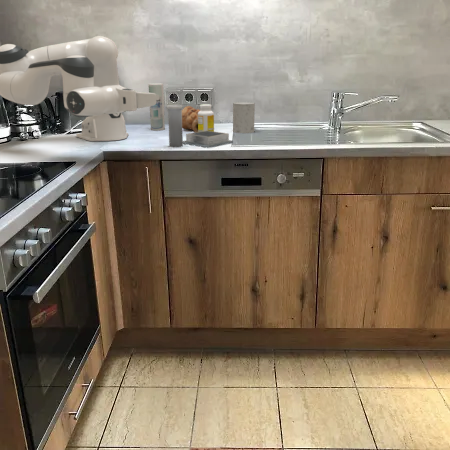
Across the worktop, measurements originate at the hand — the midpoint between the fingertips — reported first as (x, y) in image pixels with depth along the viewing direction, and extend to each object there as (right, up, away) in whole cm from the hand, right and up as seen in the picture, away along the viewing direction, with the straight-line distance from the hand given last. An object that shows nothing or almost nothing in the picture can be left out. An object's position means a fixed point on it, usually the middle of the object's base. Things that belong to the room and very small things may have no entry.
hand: (148, 96), depth 172 cm
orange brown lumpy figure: (+13, -3, +49) cm, 51 cm away
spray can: (-4, -1, +54) cm, 54 cm away
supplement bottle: (+19, -7, +36) cm, 42 cm away
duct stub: (+8, -15, +15) cm, 23 cm away
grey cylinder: (+35, -3, +48) cm, 60 cm away
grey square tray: (+20, -13, +21) cm, 31 cm away
